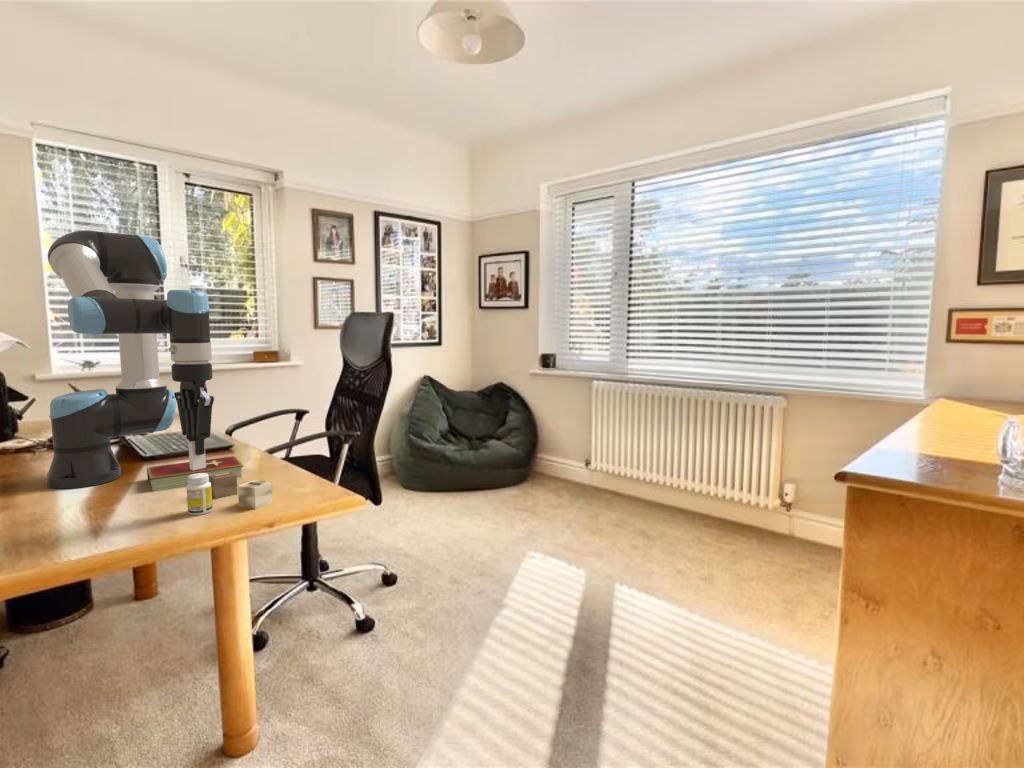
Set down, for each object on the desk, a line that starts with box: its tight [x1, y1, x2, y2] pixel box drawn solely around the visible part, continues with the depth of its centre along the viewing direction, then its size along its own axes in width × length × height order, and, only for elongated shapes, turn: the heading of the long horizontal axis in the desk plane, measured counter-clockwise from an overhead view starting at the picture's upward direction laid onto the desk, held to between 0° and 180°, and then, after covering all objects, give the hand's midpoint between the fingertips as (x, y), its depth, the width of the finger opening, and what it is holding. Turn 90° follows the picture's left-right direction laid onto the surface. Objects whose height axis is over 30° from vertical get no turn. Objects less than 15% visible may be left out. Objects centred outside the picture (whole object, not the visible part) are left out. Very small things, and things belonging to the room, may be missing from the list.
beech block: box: [237, 479, 273, 510], centre depth 123 cm, size 5×5×5 cm
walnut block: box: [208, 471, 238, 500], centre depth 129 cm, size 5×5×5 cm
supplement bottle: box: [186, 473, 213, 516], centre depth 117 cm, size 5×5×8 cm
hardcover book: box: [146, 455, 244, 492], centre depth 141 cm, size 12×21×4 cm, turn 127°
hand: (198, 468), depth 117 cm, fingers closed
